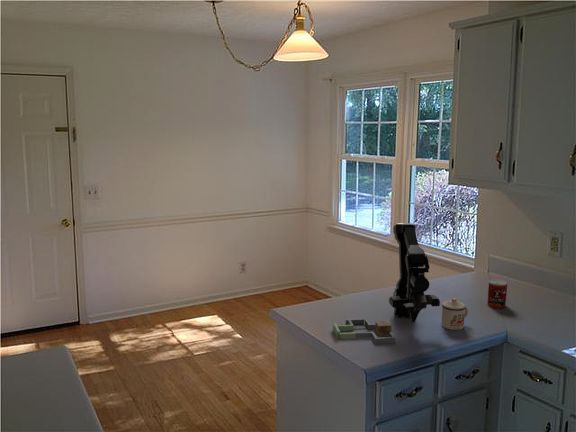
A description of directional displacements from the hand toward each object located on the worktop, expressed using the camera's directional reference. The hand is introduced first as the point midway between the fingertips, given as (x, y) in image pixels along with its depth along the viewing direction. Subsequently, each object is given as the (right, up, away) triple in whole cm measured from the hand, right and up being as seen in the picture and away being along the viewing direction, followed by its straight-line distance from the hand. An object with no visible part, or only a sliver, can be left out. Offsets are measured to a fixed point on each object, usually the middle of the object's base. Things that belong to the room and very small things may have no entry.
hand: (413, 322), depth 212 cm
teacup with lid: (+19, -3, +7) cm, 20 cm away
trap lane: (-20, -4, -2) cm, 21 cm away
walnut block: (-12, -4, -1) cm, 13 cm away
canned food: (+44, +1, +30) cm, 53 cm away
